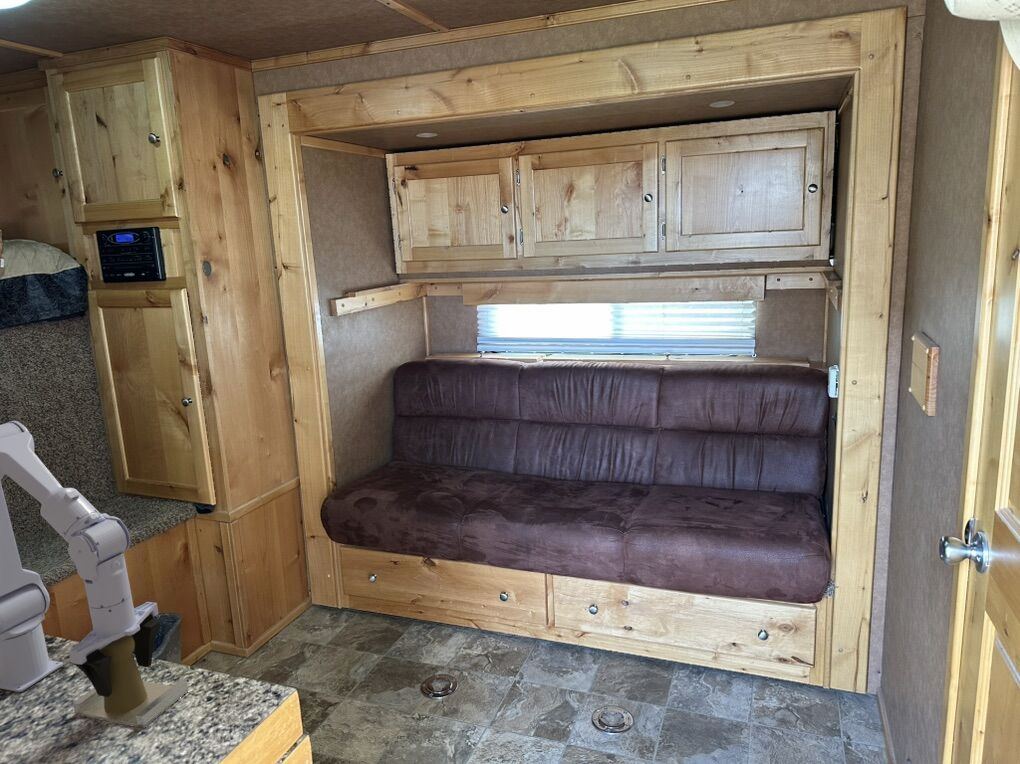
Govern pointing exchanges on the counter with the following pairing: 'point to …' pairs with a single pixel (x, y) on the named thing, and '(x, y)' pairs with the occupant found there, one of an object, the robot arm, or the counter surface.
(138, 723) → the bottom track
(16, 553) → the robot arm
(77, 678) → the counter surface
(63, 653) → the counter surface
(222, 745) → the counter surface
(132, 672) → the brown rounded piece
